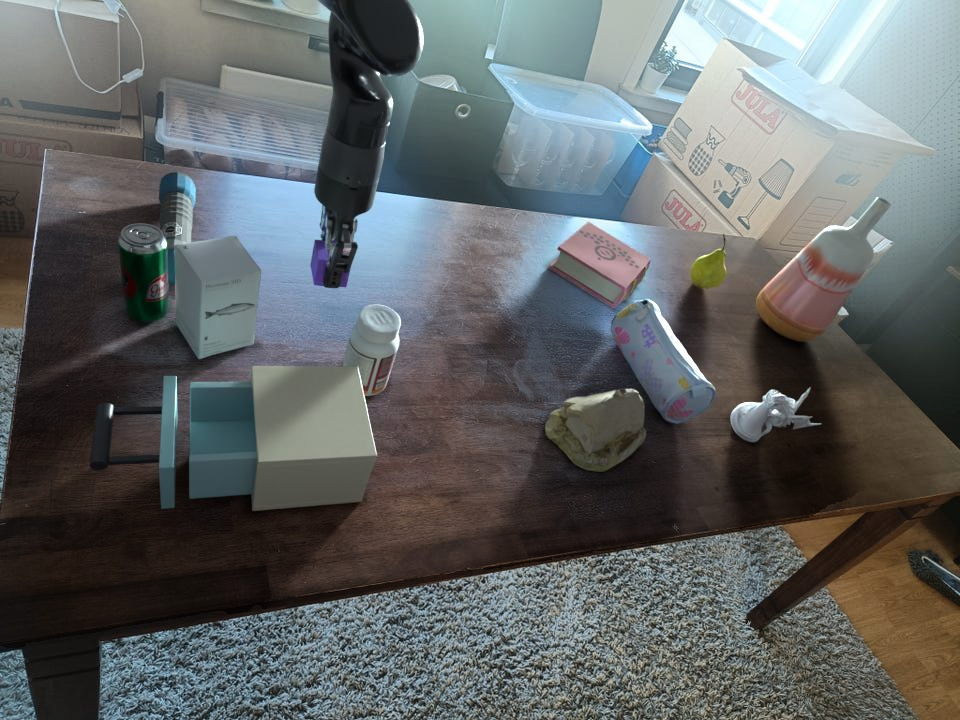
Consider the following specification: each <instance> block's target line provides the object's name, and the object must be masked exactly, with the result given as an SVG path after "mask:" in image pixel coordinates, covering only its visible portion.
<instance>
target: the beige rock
mask: <svg viewBox="0 0 960 720" xmlns="http://www.w3.org/2000/svg"><path fill="white" fill-rule="evenodd" d="M644 401H645V400H644V399H643V397H642V396H641V395H640V392H639V391H638V390H636V389H635V388H624V387H622V388H620V389H614V390H610V391H609V390H608V391H605V392H598V393H595V394H591V395H586V396H572V397H569V398H567V399H566V400H565V401H563V403H562V407H560V408H557V409H554V410H553V411H551V412H550V414H549V415H548V417H547V420H546V422H545V426H544V431H545V435H546V437H547V438H548V439H549V440H550V441H551V442H552V443H554V444H555V445H556V446H558V448H559V449H560V450H561V451H563V453H564V454H565V456H567V458H568V459H569V460H570V461H571V462H572V463H573V464H574V465H575V466H577V467H579V468H580V469H583V470H585V471H590V472H591V471H592V472H599V473H601V472H602V473H603V472H607V471H608V470H610V469H611V468H612V469H613V467H615V466H617V465H618V464H620V463H622V462H623V461H625V460H626V459H628V458H629V457H630V456H631V455H632V454H633V453H634V452H636V450H637V449H638V448H639V447H640V446H642V444H643V443H644V441H645V439H646V437H647V431H646V429H645V428H644V423H645V402H644Z"/></svg>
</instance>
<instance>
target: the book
mask: <svg viewBox="0 0 960 720" xmlns="http://www.w3.org/2000/svg"><path fill="white" fill-rule="evenodd" d="M556 250H557V251H559V254H558V257H557V258H556V259H555V260H554V261H552V262H551V263H550V264H549V265H548V267H547V268H548V269H549V270H551V271H552V272H554V273H555V274H557V275H559V276H560V277H562V278H563V279H565V280H567V281H569V282H570V283H571V284H573V285H574V286H576V287H578V288H580V289H581V290H583V291H585V292H586V293H588V294H590V295H591V296H592V297H594V298H596V299H597V300H599V301H600V302H602V303H603V304H605V305H607V306H608V307H610V308H612V309H613V310H614V309H616V308H617V307H618V306H619V304H621V303H622V302H624V301H625V300H626V299H628V298H629V297H630V296H631V294H632V292H633V291H634V289H635V288H636V287H637V286H638V285H640V283H641V282H642V281H643V279H644V277H645V276H646V273H647V271H648V269H649V267H650V264H651V260H652V259H651V258H650V257H648V256H646V255H645V254H643V253H642V252H641V251H639V250H636V249H635V248H633V247H631V246H630V245H628V244H626V243H625V242H623V241H622V240H620V239H618V238H617V237H615V236H613V235H611V234H610V233H608V232H606V231H605V230H603V229H602V228H600V227H598V226H597V225H595V224H593V223H592V222H590V221H587V222H586V223H584V225H582V226H581V227H579V229H577V230H575V232H573V234H571V235H570V236H569V237H568V238H567V239H565V240H564V241H563V242H562V243H560V244H559V245H558V247H557V248H556Z"/></svg>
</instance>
